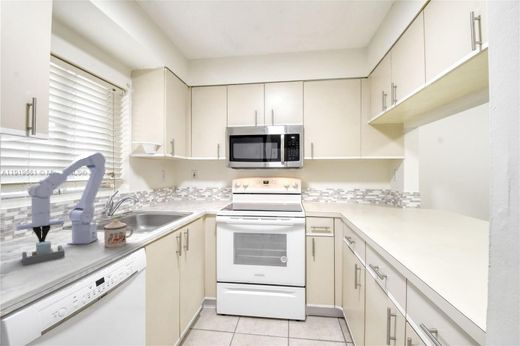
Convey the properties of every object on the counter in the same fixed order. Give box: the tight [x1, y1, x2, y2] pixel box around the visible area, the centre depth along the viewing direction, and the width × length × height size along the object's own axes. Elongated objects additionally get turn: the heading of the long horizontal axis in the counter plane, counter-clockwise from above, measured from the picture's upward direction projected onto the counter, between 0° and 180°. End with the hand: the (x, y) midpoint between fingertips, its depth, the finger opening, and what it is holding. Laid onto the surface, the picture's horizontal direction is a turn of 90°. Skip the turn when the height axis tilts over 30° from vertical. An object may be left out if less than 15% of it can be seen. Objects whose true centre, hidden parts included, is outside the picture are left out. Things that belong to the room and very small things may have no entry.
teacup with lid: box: [103, 219, 134, 248], centre depth 108 cm, size 12×9×12 cm
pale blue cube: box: [35, 240, 52, 255], centre depth 91 cm, size 4×4×4 cm
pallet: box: [31, 247, 55, 256], centre depth 91 cm, size 9×6×2 cm, turn 48°
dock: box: [21, 244, 66, 266], centre depth 91 cm, size 9×12×2 cm
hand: (41, 244), depth 97 cm, fingers closed
